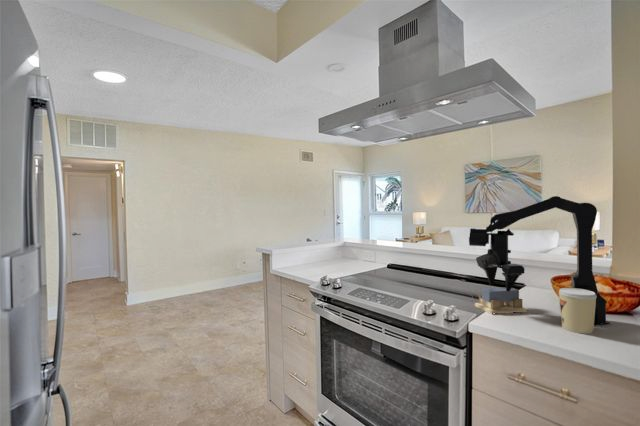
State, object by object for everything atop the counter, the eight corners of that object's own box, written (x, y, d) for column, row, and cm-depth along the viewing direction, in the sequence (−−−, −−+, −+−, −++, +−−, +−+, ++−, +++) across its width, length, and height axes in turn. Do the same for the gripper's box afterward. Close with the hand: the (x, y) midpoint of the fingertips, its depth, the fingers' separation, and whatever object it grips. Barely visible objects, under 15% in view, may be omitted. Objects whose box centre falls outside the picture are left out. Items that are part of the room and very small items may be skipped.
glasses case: (519, 300, 120) (518, 290, 120) (489, 302, 119) (489, 291, 119) (510, 297, 125) (510, 287, 125) (481, 298, 123) (481, 288, 123)
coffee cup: (561, 321, 108) (561, 286, 108) (598, 328, 101) (598, 290, 101) (556, 329, 101) (556, 291, 101) (594, 337, 95) (594, 297, 94)
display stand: (527, 312, 118) (527, 299, 118) (491, 314, 116) (491, 302, 116) (507, 304, 128) (507, 292, 128) (475, 306, 126) (474, 294, 126)
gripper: (465, 244, 130) (465, 283, 130) (496, 251, 111) (496, 295, 111) (490, 244, 131) (490, 282, 131) (525, 250, 113) (525, 294, 113)
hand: (499, 288), depth 122 cm, fingers open, 9 cm apart
